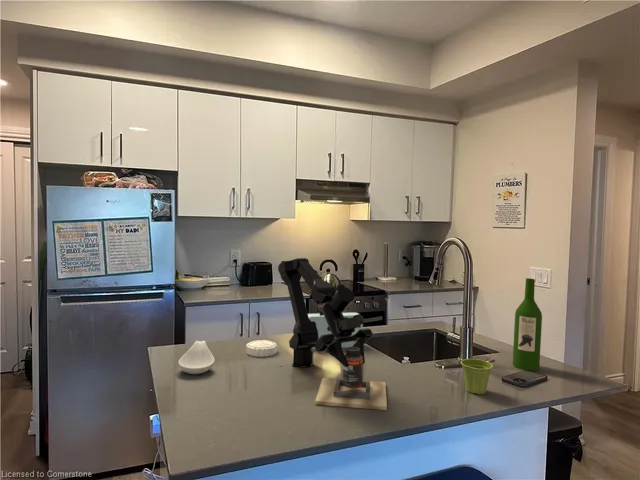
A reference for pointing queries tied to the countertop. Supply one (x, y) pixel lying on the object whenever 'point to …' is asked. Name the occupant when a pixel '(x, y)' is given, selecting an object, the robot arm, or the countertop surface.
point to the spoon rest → (197, 359)
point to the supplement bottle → (353, 368)
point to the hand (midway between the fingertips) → (355, 364)
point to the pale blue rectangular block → (323, 325)
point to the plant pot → (476, 375)
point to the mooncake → (261, 348)
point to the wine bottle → (527, 331)
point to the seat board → (352, 394)
